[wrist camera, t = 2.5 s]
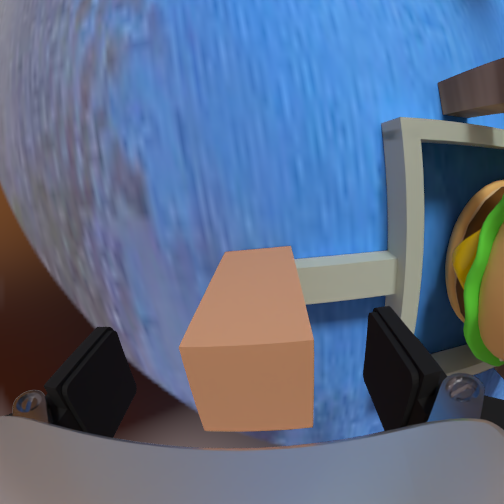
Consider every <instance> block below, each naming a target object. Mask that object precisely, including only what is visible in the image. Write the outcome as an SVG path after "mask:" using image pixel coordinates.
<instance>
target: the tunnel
mask: <svg viewBox="0 0 504 504" xmlns="http://www.w3.org/2000/svg"><path fill="white" fill-rule="evenodd" d="M438 87H439V93H440V98H441V105H442V111H443V115H449V116H457V117H464V118H471V117H477V116H484V115H491V114H498V113H504V58H501V59H498V60H495V61H492V62H490V63H487V64H484V65H481V66H479V67H476V68H473V69H471V70H468V71H466V72H463V73H461V74H458V75H456V76H453V77H451V78H448V79H446V80H443V81H441V82H439V83H438ZM494 369H495V370H496V371H497V372H498V373H499V374H500V375H501V377H502V378H503V379H504V364H503V365H501V366H498V367H497V366H496V367H494Z"/></svg>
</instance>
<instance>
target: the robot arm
mask: <svg viewBox="0 0 504 504" xmlns="http://www.w3.org/2000/svg"><path fill="white" fill-rule="evenodd" d="M363 377H364V382H365V384H366V386H367V389H368V391H369V394H370V396H371V398H372V401H373V403H374V406H375V408H376V410H377V413H378V415H379V418H380V420H381V423H382V425H383V428H384V430H385V431H383V432H378V433H373V434H369V435H364V436H358V437H353V438H347V439H340V440H334V441H327V442H320V443H312V444H303V445H293V446H280V447H263V448H199V447H181V446H169V445H159V444H151V443H143V442H135V441H129V440H122V439H116V438H113V437H114V435H115V433H116V431H117V429H118V426H119V425H120V423H121V421H122V419H123V417H124V415H125V413H126V411H127V409H128V407H129V405H130V403H131V401H132V399H133V397H134V396H135V394H136V383H135V381H134V379H133V376H132V373H131V371H130V368H129V365H128V363H127V360H126V357H125V354H124V352H123V349H122V346H121V343H120V340H119V337H118V334H117V332H116V331H114V330H113V329H112V328H111V327H97V328H96V329H95V330H94V331H93V332H92V333H91V334H90V335H89V336H88V337H87V338H86V339H85V340H84V341H83V343H82V344H81V345H80V346H79V347H78V348H77V349H76V350H75V351H74V352H73V353H72V355H71V356H70V357H69V358H68V359H67V360H66V361H65V362H64V363H63V364H62V366H61V367H60V368H59V369H58V370H57V371H56V372H55V374H54V375H53V376H52V377H51V378H50V379H49V380H48V381H47V383H46V384H45V385H44V387H45V389H46V391H47V393H48V394H47V395H46V396H45V395H44V394H43V393H42V392H41V391H38V390H31V391H27V392H25V393H23V394H21V395H20V396H19V397H18V398H17V399H16V400H15V401H14V404H13V413H11V414H9V415H6V416H0V504H504V400H501V399H497V398H493V397H488V396H484V393H485V390H484V386H483V384H482V382H481V381H480V380H479V379H478V378H476V377H475V376H473V375H470V374H467V373H456V374H452V375H450V376H447V375H446V374H445V372H444V371H443V370H442V368H441V367H440V366H439V365H438V363H437V362H436V361H435V359H434V358H433V357H432V356H431V354H430V353H429V352H428V351H427V349H426V348H425V347H424V345H423V344H422V343H421V342H420V341H419V339H418V338H417V337H415V336H414V334H413V333H412V332H411V331H410V329H409V328H408V327H407V326H406V325H405V323H404V322H403V321H402V320H401V319H400V317H399V316H398V315H397V314H396V313H395V311H394V310H393V309H392V308H391V307H390V306H384V307H378V308H374V310H373V312H371V313H369V315H368V328H367V340H366V351H365V361H364V370H363Z"/></svg>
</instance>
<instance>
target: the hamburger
mask: <svg viewBox="0 0 504 504" xmlns="http://www.w3.org/2000/svg"><path fill="white" fill-rule="evenodd" d="M445 281H446V288H447V294H448V298H449V301H450V304H451V306H452V308H453V310H454V312H455V313H456V315H457V316H458V317H459V319H460V320H461V321H462V322H463V323H464V328H463V331H464V337H465V340H466V342H467V344H468V346H469V348H470V350H471V351H472V353H473V354H474V356H475V357H476V358H477V359H479V360H481V361H483V362H485V363H488V364H490V365H493V366H497V367H498V366H501V365H503V364H504V180H499V181H494V182H492V183H490V184H488V185H486V186H485V187H483V188H482V189H481V190H480V191H478V192H477V193H476V194H475V195H474V196H473V197H472V198H471V199H470V201H469V202H468V203H467V204H466V206H465V207H464V209H463V210H462V212H461V214H460V215H459V217H458V219H457V222H456V224H455V226H454V228H453V231H452V234H451V237H450V240H449V245H448V249H447V254H446V264H445Z"/></svg>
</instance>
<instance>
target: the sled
mask: <svg viewBox="0 0 504 504" xmlns="http://www.w3.org/2000/svg"><path fill="white" fill-rule="evenodd" d="M381 125H382V133H383V143H384V154H385V166H386V182H387V205H388V250H387V251H377V252H367V253H356V254H346V255H335V256H325V257H314V258H303V259H294V257H293V253H292V249H291V246H285V247H274V248H263V249H252V250H241V251H230V252H225V253H224V255H223V257H222V259H221V261H220V263H219V265H218V267H217V270H216V272H215V274H214V276H213V278H212V280H211V282H210V284H209V286H208V288H207V290H206V292H205V294H204V296H203V298H202V300H201V302H200V304H199V306H198V308H197V310H196V312H195V314H194V316H193V318H192V321H191V323H190V325H189V327H188V329H187V331H186V333H185V335H184V337H183V339H182V341H181V344H180V346H179V350H180V353H181V357H182V360H183V364H184V367H185V371H186V374H187V378H188V381H189V384H190V388H191V391H192V394H193V397H194V400H195V404H196V407H197V410H198V413H199V416H200V419H201V422H202V425H203V427H204V430H205V431H272V430H288V429H300V428H310V427H313V404H314V339H313V334H312V330H311V326H310V321H309V317H308V313H307V309H306V304H316V303H326V302H335V301H344V300H352V299H360V298H368V297H376V296H383V295H386V299H385V306H390V307H391V308H392V309H393V310H394V311H395V313H396V314H397V315H398V316H399V317H400V319H401V320H402V321H403V322H404V323H405V325H406V326H407V327H408V328H409V329H410V331H411V332H412V333H413V334H414V332H415V325H416V319H417V311H418V304H419V295H420V286H421V275H422V262H423V245H424V178H423V160H422V148H421V143H440V144H454V145H466V146H476V147H486V148H494V149H502V150H504V130H503V129H498V128H493V127H487V126H481V125H474V124H467V123H460V122H452V121H443V120H432V119H420V118H406V117H399V118H396V119H393V120H390V121H387V122H384V123H381ZM431 356H432V357H433V358H434V359H435V361H436V362H437V363H438V365H439V366H440V367H441V368H442V370H443V371H444V372H445V374H446V375H447V376H450V375H452V374H456V373H467V374H470V375H475V374H478V373H481V372H483V371H486V370H488V369H491V368H494V367H496V366H493V365H490V364H488V363H485V362H483V361H481V360H479V359H477V358H476V357H475V356H474V354H473V353H472V351H471V350H470V348H469V346H468V344H466V345H462V346H459V347H455V348H452V349H448V350H444V351H440V352H436V353H432V354H431Z"/></svg>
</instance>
